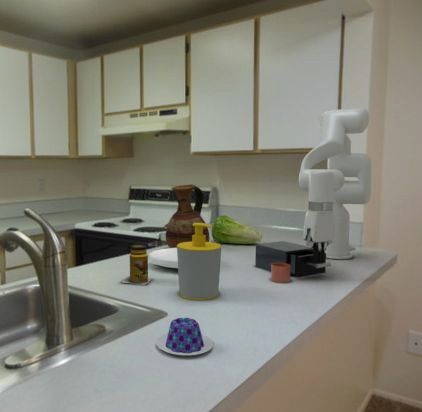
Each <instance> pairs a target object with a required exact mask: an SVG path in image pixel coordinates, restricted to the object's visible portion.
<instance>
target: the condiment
mask: <svg viewBox="0 0 422 412" xmlns="http://www.w3.org/2000/svg"><path fill="white" fill-rule="evenodd" d="M147 248H148V247H147V245H144V244H133V245H131V246H130V254H129V276H127V277H126V278H125V279H124V280H123V281H121V282H120V283H121V284H132V285H141V286H146V284H148V283H150V281H151V280H152V278H150V277H149V254H148V253H147V252H148V251H147Z"/></svg>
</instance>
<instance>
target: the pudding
mask: <svg viewBox="0 0 422 412" xmlns="http://www.w3.org/2000/svg"><path fill="white" fill-rule="evenodd" d="M201 331H202V330H201V327H200V324H199V322H198V321H197V320H196V319H194V318H190V317H177V318H175V319H172V320H171V322H170V324H169V329H168V332H166V333H164V334H162V335H160V336H159V337H158V338H157V339H156V341H155V342H156V343H155V344H156V346H157V347H158V348H159V349H160V350H161V351H163V352H166V353H168V354H172V355H177V356H197V355H200V354H204V353H206V352H209V351H210V350H211V349H212V348H213V346H214V341H213V340H212V339H211V338H210V337H209V336H208V335H205V334H203V333H202V332H201Z"/></svg>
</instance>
